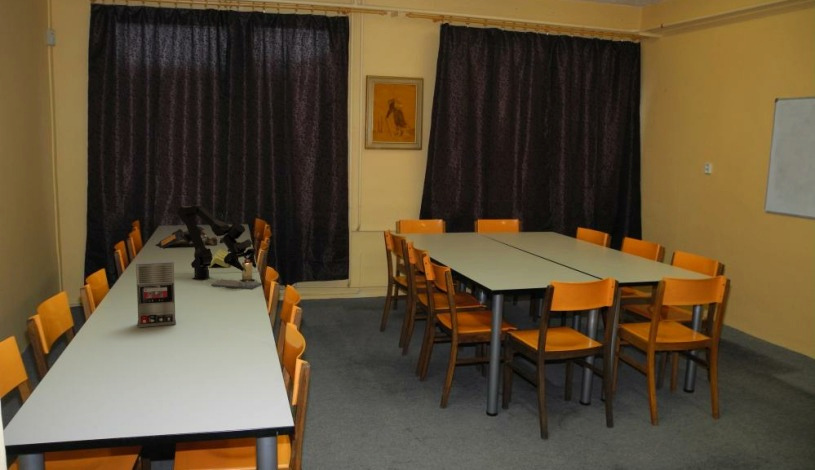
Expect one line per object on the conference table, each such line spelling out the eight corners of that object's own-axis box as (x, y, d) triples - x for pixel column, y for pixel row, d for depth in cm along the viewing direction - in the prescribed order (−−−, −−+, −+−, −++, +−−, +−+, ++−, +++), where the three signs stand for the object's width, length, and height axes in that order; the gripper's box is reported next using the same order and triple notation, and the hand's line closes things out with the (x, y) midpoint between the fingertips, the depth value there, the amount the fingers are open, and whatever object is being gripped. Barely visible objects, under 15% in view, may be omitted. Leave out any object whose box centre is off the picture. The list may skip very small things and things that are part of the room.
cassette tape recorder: (138, 328, 244) (135, 265, 240) (137, 323, 250) (135, 261, 246) (175, 325, 250) (174, 263, 246) (174, 320, 255) (173, 260, 251)
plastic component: (230, 264, 356) (213, 256, 354) (224, 275, 357) (207, 268, 355) (233, 254, 375) (217, 247, 373) (227, 265, 376) (211, 258, 374)
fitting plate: (211, 286, 313) (210, 280, 313) (221, 281, 324) (221, 275, 324) (252, 289, 309) (252, 283, 309) (261, 284, 320) (261, 278, 319)
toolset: (163, 249, 401) (149, 220, 414) (162, 269, 414) (149, 240, 427) (223, 235, 424) (208, 208, 437) (221, 255, 437) (206, 228, 450)
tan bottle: (241, 285, 313) (241, 260, 311) (243, 283, 317) (242, 258, 316) (251, 285, 313) (251, 260, 311) (253, 283, 318) (252, 258, 316)
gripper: (227, 237, 305) (245, 262, 302) (253, 232, 321) (270, 256, 318) (215, 251, 310) (233, 276, 306) (241, 245, 326) (258, 269, 323)
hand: (249, 268), depth 313 cm, fingers open, 9 cm apart
